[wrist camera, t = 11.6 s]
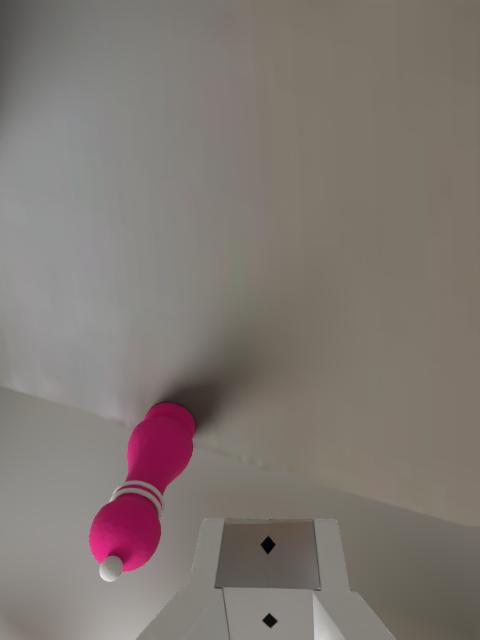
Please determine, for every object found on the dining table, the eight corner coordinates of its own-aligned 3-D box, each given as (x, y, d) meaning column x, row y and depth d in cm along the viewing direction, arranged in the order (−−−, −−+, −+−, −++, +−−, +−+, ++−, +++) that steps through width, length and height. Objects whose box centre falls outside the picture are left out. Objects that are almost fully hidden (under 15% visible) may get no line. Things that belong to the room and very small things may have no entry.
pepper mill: (154, 388, 48) (78, 531, 30) (209, 414, 49) (167, 569, 30) (133, 432, 51) (50, 587, 32) (185, 456, 51) (133, 622, 33)
